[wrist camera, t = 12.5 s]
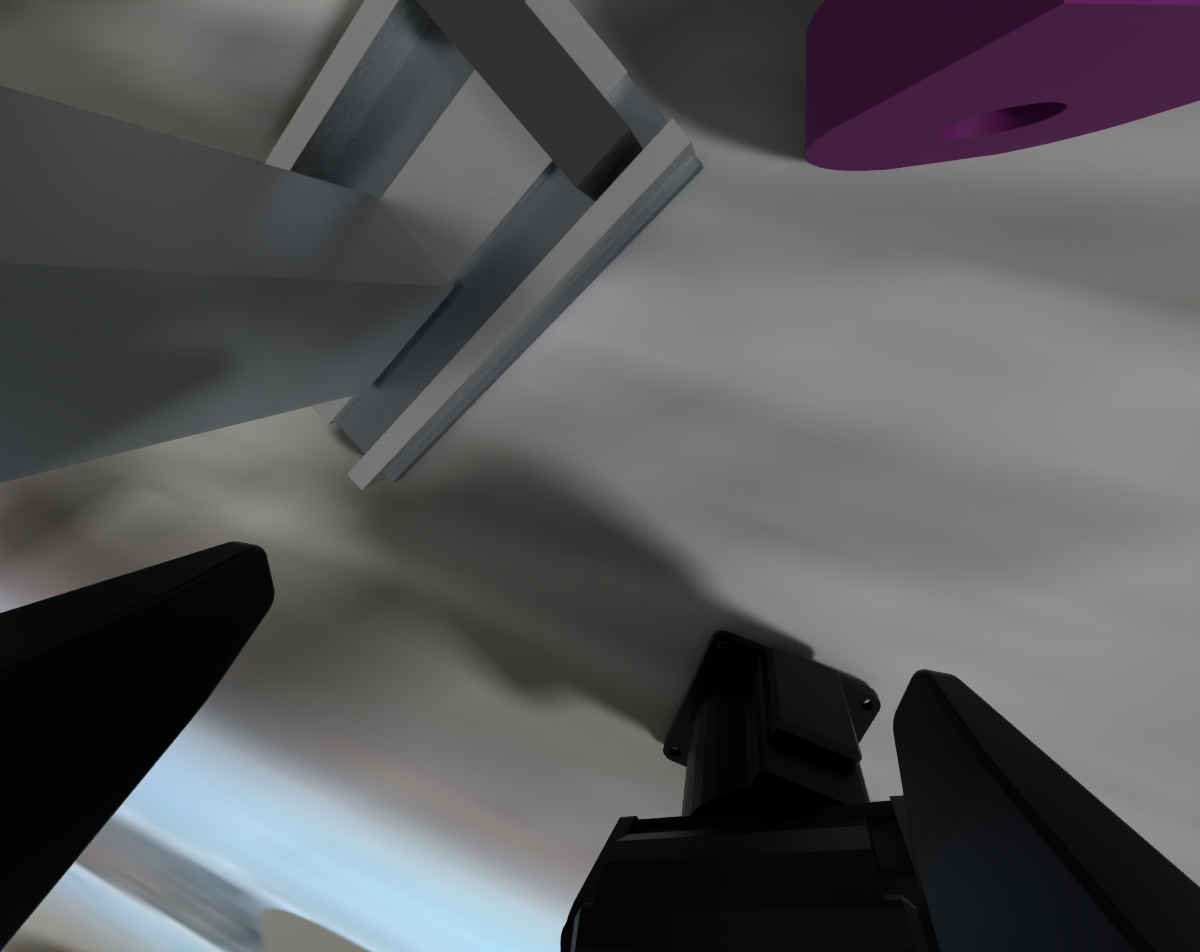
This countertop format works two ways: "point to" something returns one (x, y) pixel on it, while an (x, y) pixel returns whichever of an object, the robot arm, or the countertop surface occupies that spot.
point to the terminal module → (180, 288)
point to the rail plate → (481, 186)
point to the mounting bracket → (987, 75)
